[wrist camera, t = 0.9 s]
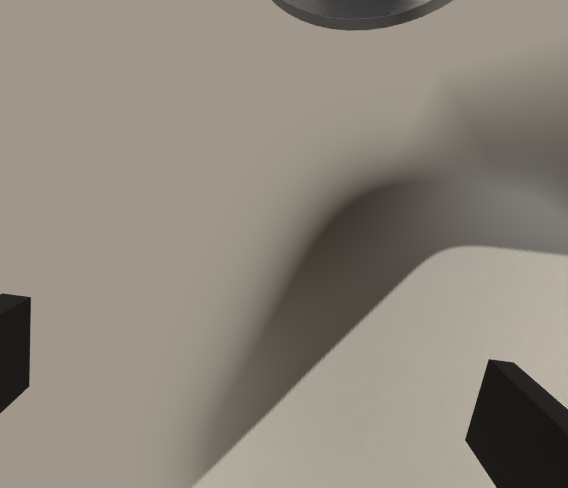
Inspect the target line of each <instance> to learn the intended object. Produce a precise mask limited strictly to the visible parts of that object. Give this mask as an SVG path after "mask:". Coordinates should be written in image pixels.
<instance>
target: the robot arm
mask: <svg viewBox="0 0 568 488" xmlns="http://www.w3.org/2000/svg"><path fill="white" fill-rule="evenodd" d="M30 312H31V297H24V296H16V295H10V294H0V413H1V412H2V411H3V410H4V409H5V408H7V407H8V406H9V405H10V404H11V403H12V402H13V401H14V400H15V399H16V398H17V397H18V396H19V395H20V394H22V393H23V392H24V390H26V389H27V388H28V387H29V370H30V368H29V367H30V314H31V313H30ZM465 441H466V442H467V444H468V445H469V447H470V448H471V450H472V451H473V453H474V454H475V456H476V457H477V459H478V460H479V462H480V463H481V465H482V466H483V468H484V469H485V471H486V472H487V474H488V475H489V477H490V478H491V480H492V481H493V483H494V484H495V486H496V487H497V488H568V409H567V408H565V407H564V406H563V405H562V404H561V403H560V402H558V401H557V400H556V399H555V398H554V397H553V396H552V395H550V394H549V393H548V392H547V391H546V390H545V389H544V388H542V387H541V386H540V385H539V384H538V383H537V382H535V381H534V380H533V379H532V378H531V377H530V376H529V375H527V374H526V373H525V372H524V371H523V370H522V369H521V368H519V367H518V366H517V365H516V364H515V363H513V362H505V361H498V360H490V359H489V360H488V364H487V367H486V371H485V374H484V377H483V381H482V384H481V388H480V391H479V395H478V398H477V401H476V405H475V408H474V412H473V415H472V418H471V422H470V425H469V429H468V432H467V436H466V439H465Z"/></svg>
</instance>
